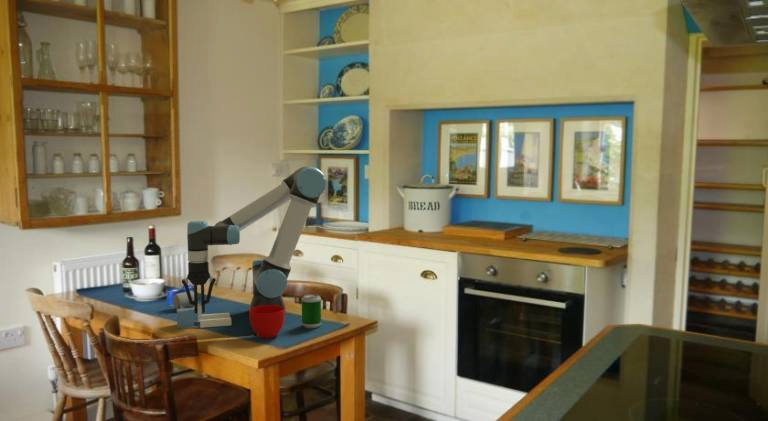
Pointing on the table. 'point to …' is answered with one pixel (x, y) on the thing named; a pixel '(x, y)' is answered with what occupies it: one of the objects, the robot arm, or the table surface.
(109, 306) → the table surface
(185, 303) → the ceramic mug
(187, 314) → the block
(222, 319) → the chute
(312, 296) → the soda can
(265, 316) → the ceramic cup
